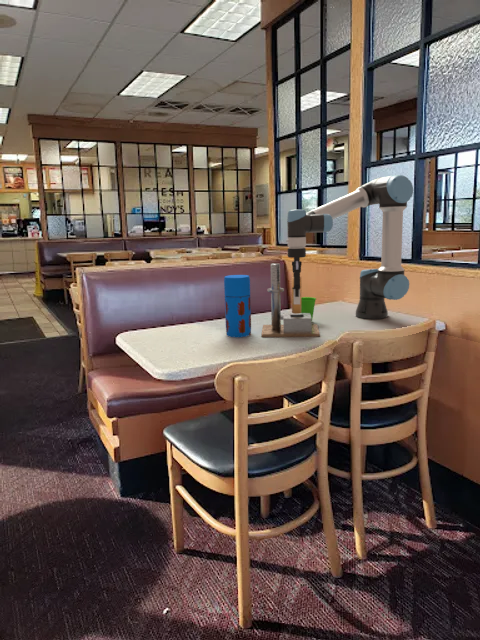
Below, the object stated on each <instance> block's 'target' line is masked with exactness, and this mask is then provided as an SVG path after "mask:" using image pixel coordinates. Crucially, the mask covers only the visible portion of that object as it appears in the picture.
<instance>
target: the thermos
mask: <svg viewBox="0 0 480 640" xmlns="http://www.w3.org/2000/svg"><path fill="white" fill-rule="evenodd" d="M223 287H224V288H223V289H224V291H223V292H224V313H225V316H224V317H225V332H226V333H225V334H226V336H227V337H229V336H230V337H231V338H247V337H249V336H251V334H252V313H251V312H252V310H251V309H252V308H251V307H252V305H251V279H250V275H247V274H231V275H229V274H228V275H226V276H224V279H223ZM230 337H229V338H230Z"/></svg>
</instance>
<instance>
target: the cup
mask: <svg viewBox="0 0 480 640" xmlns="http://www.w3.org/2000/svg"><path fill="white" fill-rule="evenodd" d="M316 300H317V297H313V296H312V297H310V296H304V297H302V296H301V313H310V315H311V318H312V319H313V317H314V312H315V311H314V310H315V305H316Z"/></svg>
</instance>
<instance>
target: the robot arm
mask: <svg viewBox="0 0 480 640" xmlns="http://www.w3.org/2000/svg"><path fill="white" fill-rule="evenodd" d="M413 194H414V186H413V183H412V181H411V180H410V179H409V178H408V177H407V176H405V175H403V174H402V175H400V174H395V175H389V176H381V177H378V178H375V179H373V180H370V181H368V182H367V183H364V184H362V185H361V186H359V187H357V188H356V189H355V190H354V191H353V192H350V193H348V194H346V195H344V196H340V197H338V198H337V199H334V200H332V201H330V202H328V203H327V202H326V204H323V205H321V206H318V207H316V208H314V209H311V210H309V211H306V209H289V210H288V211H287V216H286V217H287V219H286V223H287V239H286V241H285V242H286V243H287V247H288V248H287V258H293V261H291V266H292V270H291V271H292V274H293V276H292V277H294V288H292V287H291V290H292V289H294V304H300V277H301V272H302V265H303V264H302V261H300V259H301V258H305V257H306V255H307V252H306V251H307V249H306V248H305V247H307V234H308V233H328V232H330V231H332V229H333V225H334V220H335V219H337V218H340V217H341V216H344V215H346V214H348V213H350V212H352V211H355V210H356V209H357V210H358V209H359V208H367V207H369V206H373V205H378V206H379V210H380V211H382V229H381V257H380V258H381V260H380V261H381V264H380V266H379V267H378V268H369V269H362V270H361V271H360V273H359V302H358V304H357V307H356V309H355V317H357V318H359V319H365V320H366V319H369V320H377V319H378V320H380V319H386V318H388V316H389V315H388V314H389V312H388V309H387V305H386V302H385V299H386V300H390V301H391V300H393V301H397V300H400V299H402V298H404V297H405V296H406V295H407V293H408V292H409V289H410V280H409V278H408V277H407V276H406V275H405V268H404V267H403V265H402V251H403V250H402V249H403V247H402V246H403V226H404V225H403V221H404V211H405V210H406V208H408V207H407V206H408V201H410V200H411V198H412V197H413Z"/></svg>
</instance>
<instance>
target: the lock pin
mask: <svg viewBox="0 0 480 640" xmlns="http://www.w3.org/2000/svg"><path fill="white" fill-rule="evenodd" d="M292 288H294V277H293V276H292V277H291V313H295V314H298V313H301V297H302V276H300V304H294V289H292Z"/></svg>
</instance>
